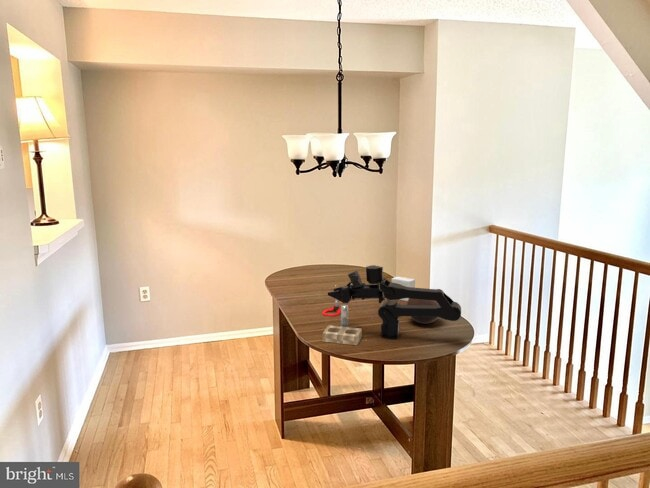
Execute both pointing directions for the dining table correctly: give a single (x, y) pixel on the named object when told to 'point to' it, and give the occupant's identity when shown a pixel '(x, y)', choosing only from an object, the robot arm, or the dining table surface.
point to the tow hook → (333, 309)
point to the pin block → (342, 335)
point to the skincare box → (404, 283)
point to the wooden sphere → (422, 302)
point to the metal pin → (344, 315)
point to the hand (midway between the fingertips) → (330, 291)
